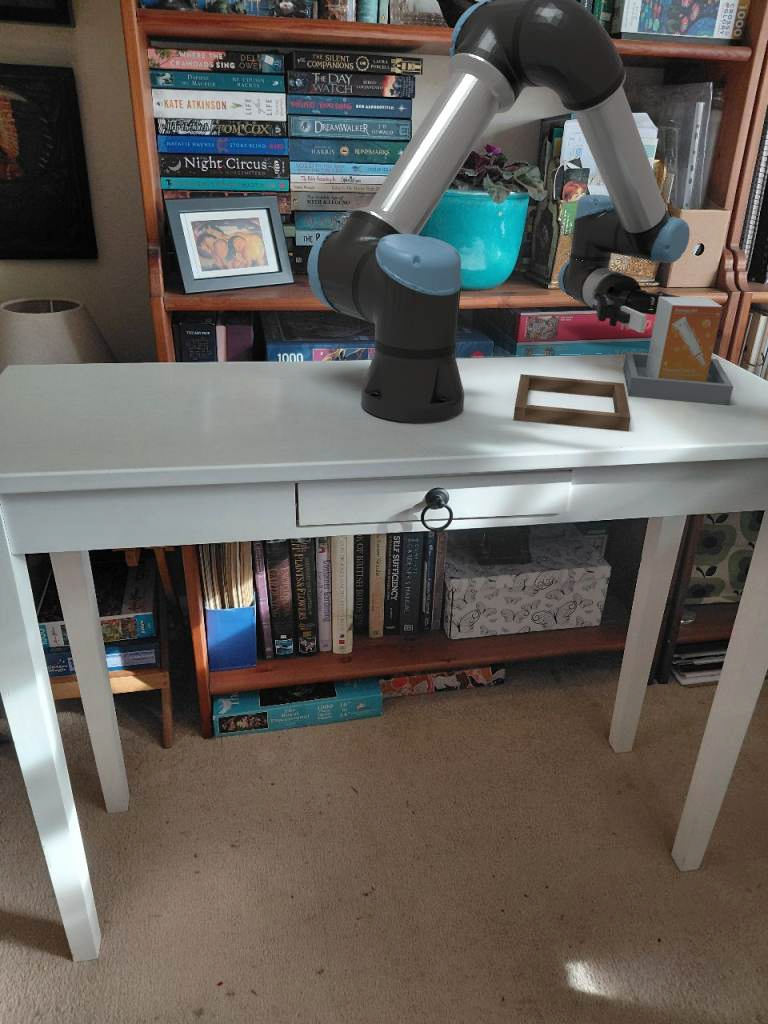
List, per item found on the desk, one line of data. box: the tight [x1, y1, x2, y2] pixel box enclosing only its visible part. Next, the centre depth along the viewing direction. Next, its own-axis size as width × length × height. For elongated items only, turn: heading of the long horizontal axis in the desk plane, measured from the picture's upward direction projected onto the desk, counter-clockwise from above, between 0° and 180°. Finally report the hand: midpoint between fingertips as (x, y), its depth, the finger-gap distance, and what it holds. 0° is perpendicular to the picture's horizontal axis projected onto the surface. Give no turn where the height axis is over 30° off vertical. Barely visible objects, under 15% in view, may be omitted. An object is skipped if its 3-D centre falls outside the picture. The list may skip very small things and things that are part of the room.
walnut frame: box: [512, 373, 631, 432], centre depth 123 cm, size 16×16×2 cm
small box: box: [645, 296, 723, 382], centre depth 131 cm, size 8×6×13 cm
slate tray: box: [622, 351, 734, 406], centre depth 133 cm, size 15×15×3 cm
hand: (680, 322), depth 131 cm, fingers open, 13 cm apart
